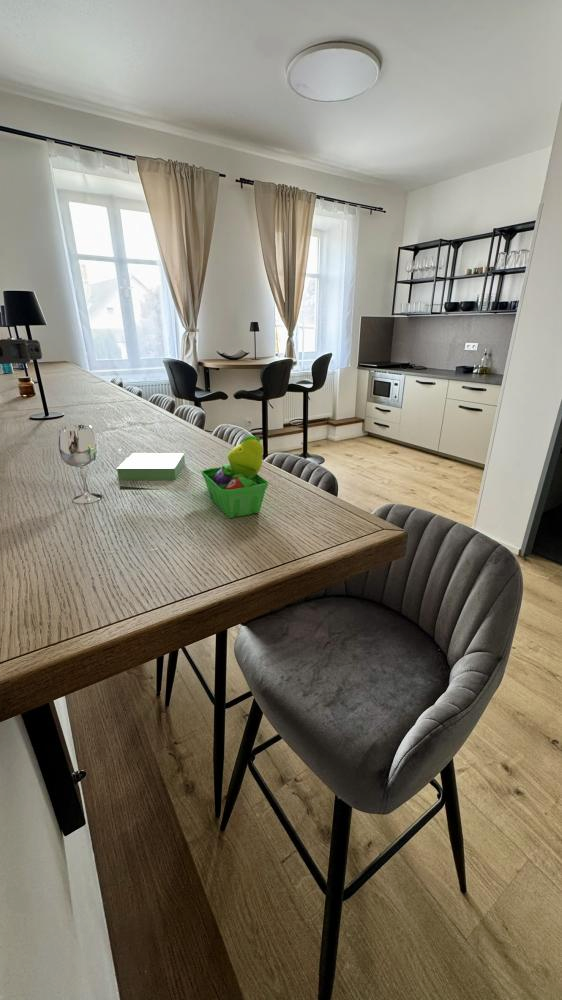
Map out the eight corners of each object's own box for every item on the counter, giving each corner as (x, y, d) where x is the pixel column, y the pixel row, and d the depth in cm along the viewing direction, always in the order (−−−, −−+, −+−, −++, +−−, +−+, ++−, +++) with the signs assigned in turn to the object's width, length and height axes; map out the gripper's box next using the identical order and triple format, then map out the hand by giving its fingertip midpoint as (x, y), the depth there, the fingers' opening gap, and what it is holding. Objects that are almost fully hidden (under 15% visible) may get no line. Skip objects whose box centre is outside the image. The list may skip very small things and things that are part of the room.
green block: (119, 489, 73) (116, 468, 72) (135, 472, 82) (132, 453, 81) (176, 489, 74) (174, 468, 72) (185, 472, 83) (184, 453, 82)
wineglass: (113, 496, 70) (102, 426, 66) (83, 507, 65) (69, 433, 61) (91, 490, 73) (80, 422, 68) (61, 500, 68) (46, 428, 64)
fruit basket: (201, 498, 70) (196, 432, 66) (248, 490, 74) (247, 428, 70) (224, 523, 61) (221, 449, 56) (277, 513, 64) (278, 442, 60)
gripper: (-89, 305, 34) (52, 316, 48) (-219, 306, 36) (-47, 316, 51) (-62, 399, 36) (64, 381, 51) (-184, 393, 39) (-31, 378, 54)
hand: (8, 349), depth 51 cm, fingers open, 8 cm apart
